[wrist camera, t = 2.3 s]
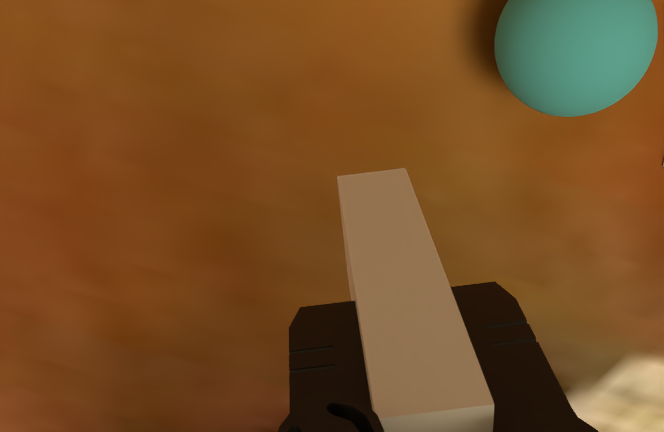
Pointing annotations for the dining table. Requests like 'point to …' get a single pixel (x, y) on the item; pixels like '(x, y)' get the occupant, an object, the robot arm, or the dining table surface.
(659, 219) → the dining table surface
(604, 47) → the ball
